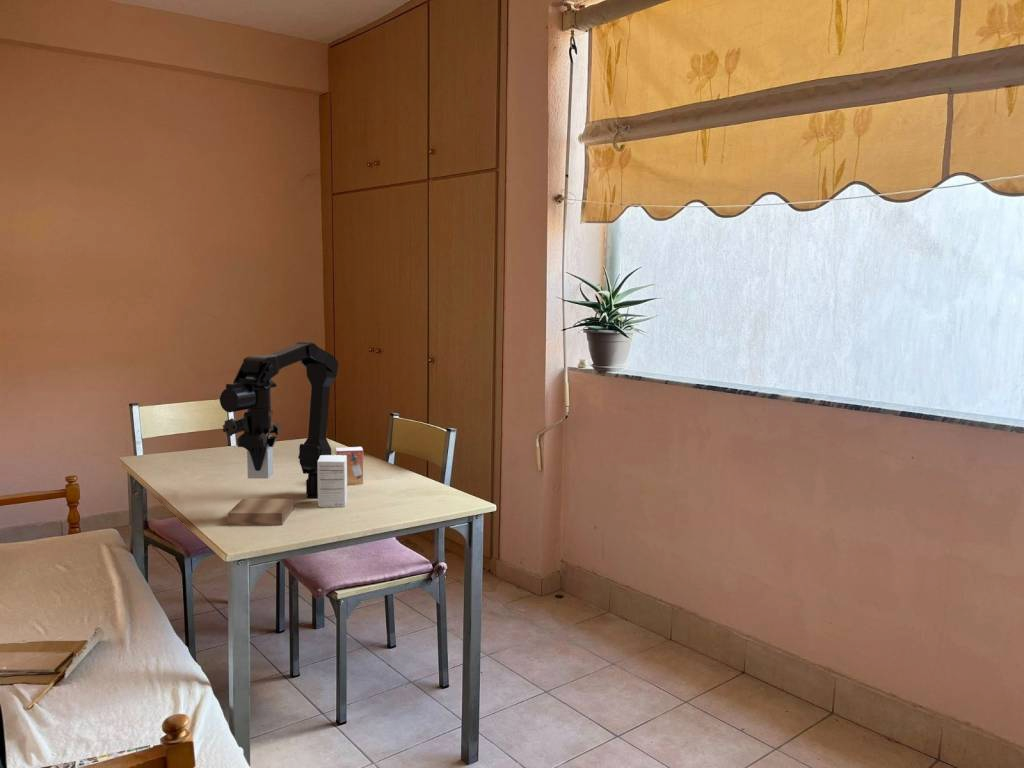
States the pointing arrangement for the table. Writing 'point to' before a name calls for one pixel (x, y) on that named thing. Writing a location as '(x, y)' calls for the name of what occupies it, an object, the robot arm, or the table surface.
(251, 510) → the walnut base
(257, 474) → the grey block
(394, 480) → the table surface
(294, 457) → the table surface
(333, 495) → the supplement box
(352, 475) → the small box
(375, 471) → the table surface
